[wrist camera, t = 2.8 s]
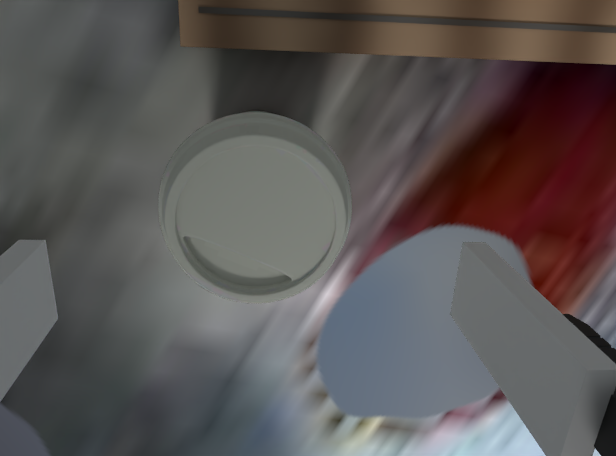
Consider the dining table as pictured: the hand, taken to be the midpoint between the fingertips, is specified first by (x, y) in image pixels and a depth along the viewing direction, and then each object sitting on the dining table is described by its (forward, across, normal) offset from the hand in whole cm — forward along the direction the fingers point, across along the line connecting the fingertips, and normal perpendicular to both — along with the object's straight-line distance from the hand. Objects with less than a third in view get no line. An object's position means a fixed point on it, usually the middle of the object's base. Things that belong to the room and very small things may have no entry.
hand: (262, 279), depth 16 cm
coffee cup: (+17, 0, 0) cm, 17 cm away
